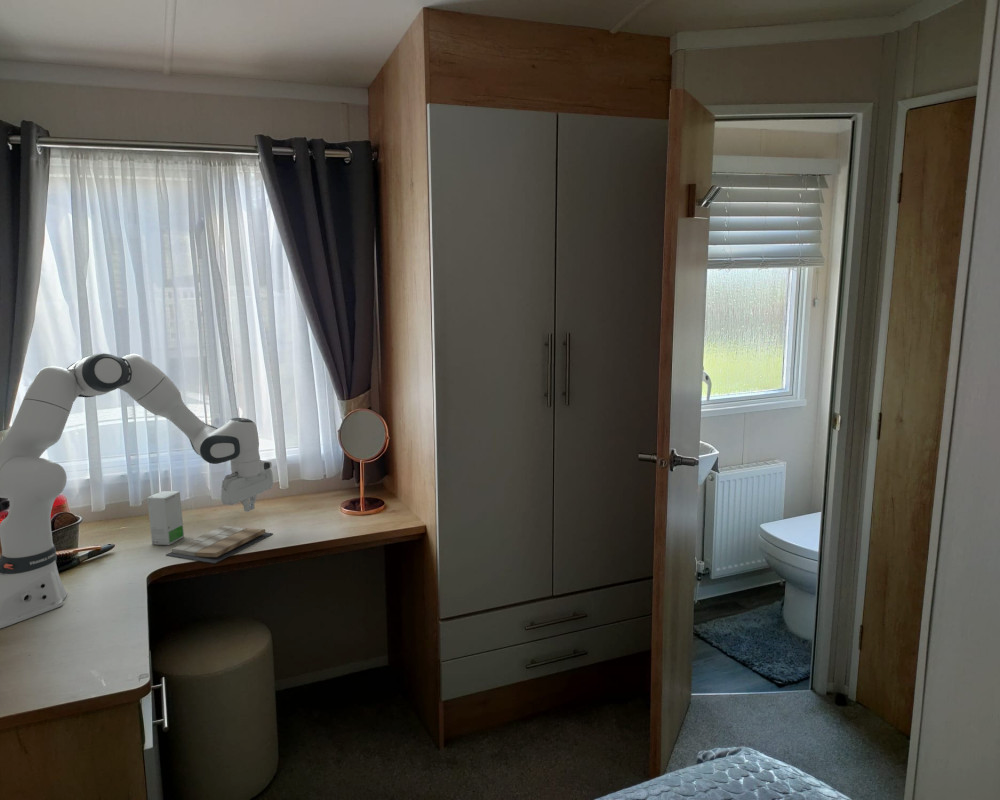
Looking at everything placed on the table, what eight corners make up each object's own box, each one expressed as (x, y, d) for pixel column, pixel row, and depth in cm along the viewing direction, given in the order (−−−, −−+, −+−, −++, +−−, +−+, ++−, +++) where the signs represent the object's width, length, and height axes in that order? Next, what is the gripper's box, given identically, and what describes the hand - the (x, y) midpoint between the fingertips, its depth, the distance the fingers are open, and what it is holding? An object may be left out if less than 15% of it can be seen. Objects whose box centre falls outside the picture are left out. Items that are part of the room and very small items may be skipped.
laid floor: (194, 556, 217) (194, 552, 217) (172, 552, 220) (171, 548, 220) (245, 532, 237) (245, 528, 237) (223, 529, 240) (223, 525, 240)
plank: (216, 557, 214) (215, 553, 214) (195, 556, 217) (195, 552, 217) (265, 532, 234) (265, 529, 234) (246, 532, 237) (245, 528, 237)
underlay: (214, 563, 212) (214, 562, 212) (165, 555, 219) (165, 554, 219) (272, 534, 236) (272, 533, 235) (226, 527, 242) (226, 526, 242)
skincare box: (168, 546, 227) (164, 498, 224) (150, 544, 228) (145, 497, 225) (185, 536, 235) (180, 490, 232) (167, 535, 236) (162, 489, 233)
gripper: (230, 477, 217) (234, 521, 219) (275, 461, 235) (277, 501, 238) (214, 476, 219) (218, 519, 221) (259, 459, 238) (262, 500, 240)
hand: (249, 510), depth 230 cm, fingers closed
